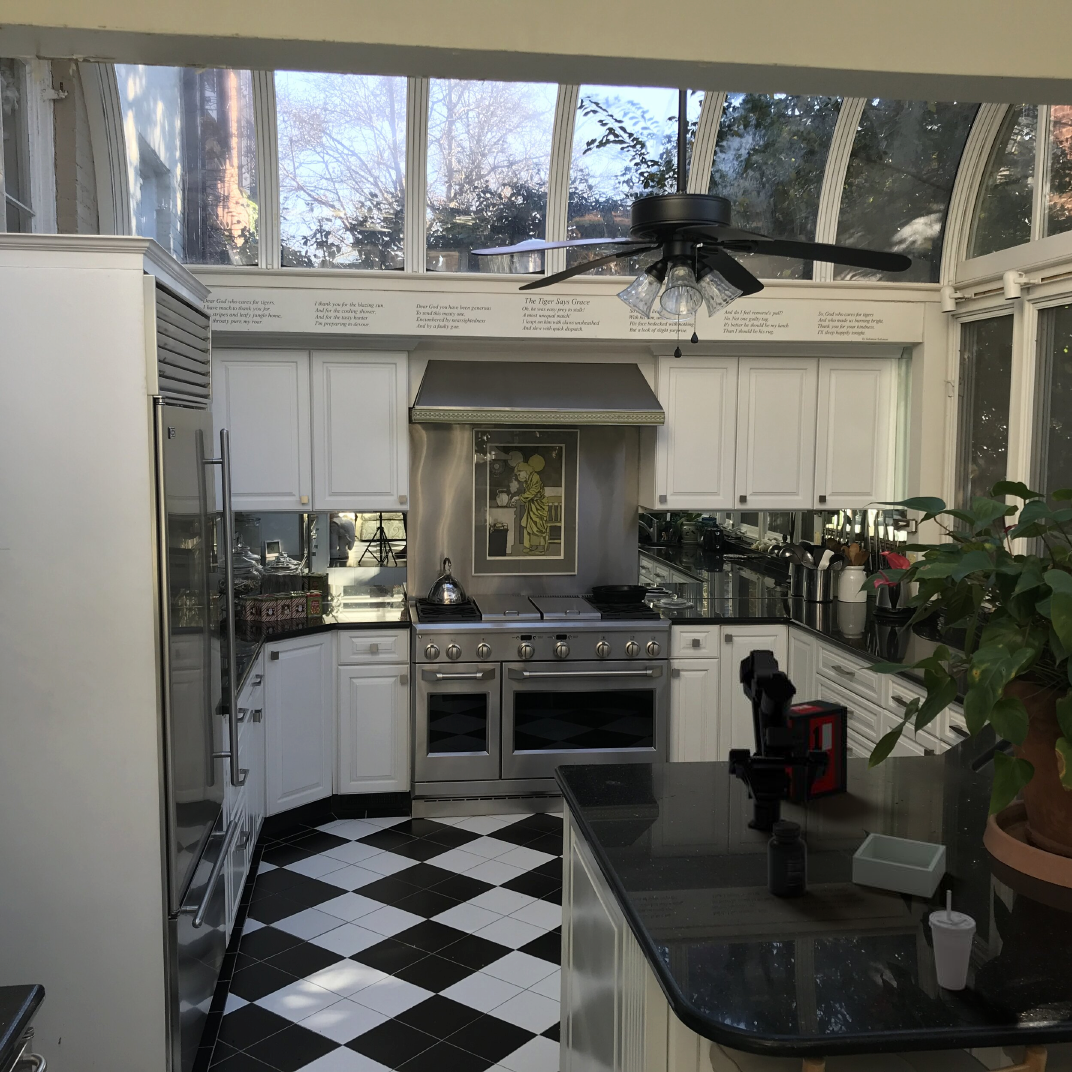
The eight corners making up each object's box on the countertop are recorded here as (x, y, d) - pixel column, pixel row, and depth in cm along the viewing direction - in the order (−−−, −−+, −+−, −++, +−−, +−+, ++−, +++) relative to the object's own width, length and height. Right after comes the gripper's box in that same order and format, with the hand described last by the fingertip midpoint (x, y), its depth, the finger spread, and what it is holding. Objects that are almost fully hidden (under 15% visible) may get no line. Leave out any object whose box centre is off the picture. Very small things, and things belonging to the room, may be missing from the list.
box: (870, 857, 197) (871, 833, 196) (945, 871, 190) (945, 846, 189) (852, 882, 185) (852, 856, 185) (931, 898, 178) (931, 871, 178)
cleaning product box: (818, 781, 244) (818, 699, 242) (846, 791, 236) (847, 706, 235) (766, 793, 236) (766, 708, 234) (794, 804, 228) (794, 716, 226)
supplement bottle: (808, 885, 184) (808, 820, 184) (805, 900, 178) (805, 833, 177) (769, 880, 187) (769, 816, 186) (765, 895, 180) (765, 829, 179)
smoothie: (920, 974, 152) (921, 883, 151) (961, 971, 153) (962, 880, 152) (940, 996, 146) (942, 901, 145) (983, 993, 146) (985, 899, 145)
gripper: (728, 707, 194) (733, 782, 184) (829, 708, 192) (839, 784, 182) (726, 737, 203) (730, 809, 192) (822, 738, 200) (831, 812, 190)
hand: (782, 803), depth 189 cm, fingers open, 9 cm apart
